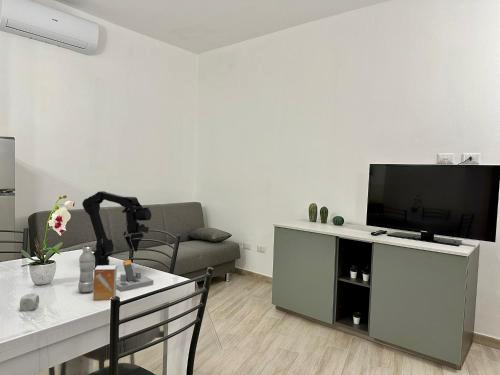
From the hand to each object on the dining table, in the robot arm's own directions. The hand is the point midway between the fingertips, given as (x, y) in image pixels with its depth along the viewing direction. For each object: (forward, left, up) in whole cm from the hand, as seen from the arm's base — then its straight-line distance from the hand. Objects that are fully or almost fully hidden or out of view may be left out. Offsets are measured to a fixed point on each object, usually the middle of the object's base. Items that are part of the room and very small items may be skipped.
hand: (133, 250), depth 182 cm
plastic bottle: (-13, -30, -12) cm, 35 cm away
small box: (-3, -37, -12) cm, 39 cm away
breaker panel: (+3, -19, -12) cm, 23 cm away
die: (-27, -49, -12) cm, 57 cm away
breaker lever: (+3, -19, -10) cm, 22 cm away
